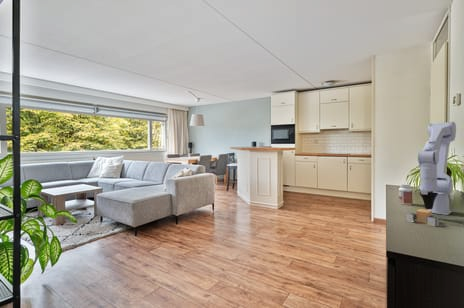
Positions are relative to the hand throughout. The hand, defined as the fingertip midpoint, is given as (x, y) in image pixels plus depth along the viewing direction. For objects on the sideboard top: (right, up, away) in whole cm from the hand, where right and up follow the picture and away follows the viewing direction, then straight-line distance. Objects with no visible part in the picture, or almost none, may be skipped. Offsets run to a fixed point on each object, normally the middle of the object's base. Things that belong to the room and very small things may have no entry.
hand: (428, 208), depth 106 cm
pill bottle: (+9, -4, +27) cm, 29 cm away
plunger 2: (-7, -4, -9) cm, 12 cm away
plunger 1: (-11, -4, -5) cm, 12 cm away
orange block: (-6, -4, -5) cm, 9 cm away
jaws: (-8, -4, -7) cm, 12 cm away
